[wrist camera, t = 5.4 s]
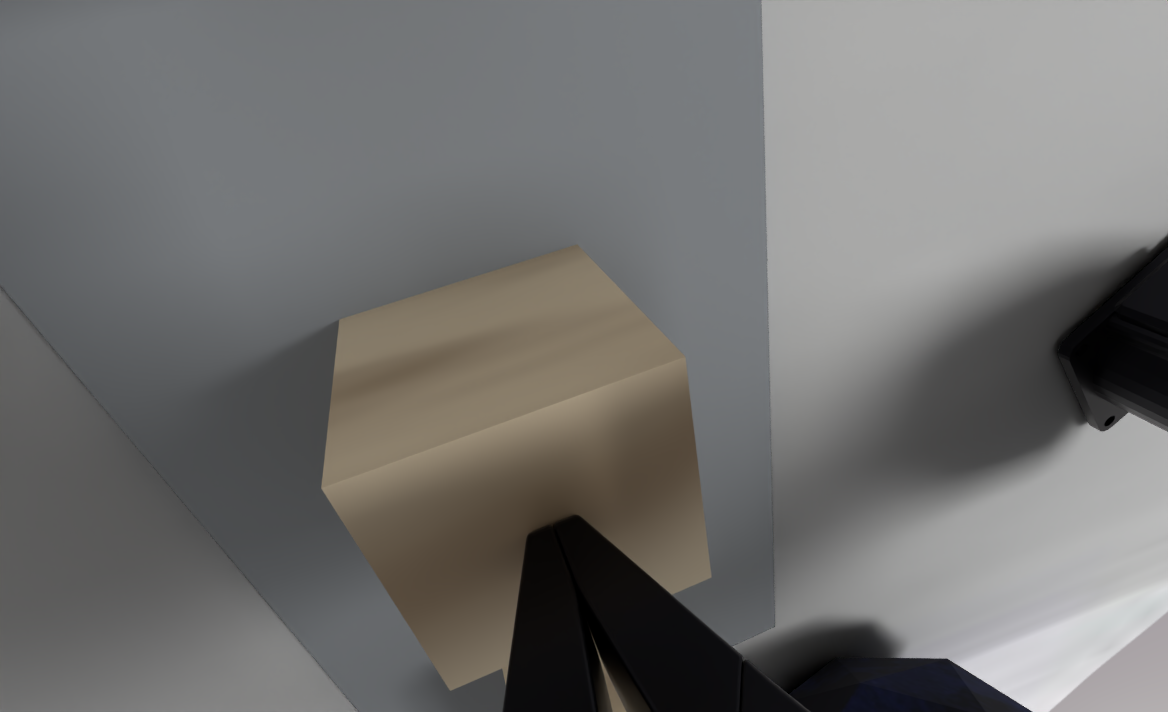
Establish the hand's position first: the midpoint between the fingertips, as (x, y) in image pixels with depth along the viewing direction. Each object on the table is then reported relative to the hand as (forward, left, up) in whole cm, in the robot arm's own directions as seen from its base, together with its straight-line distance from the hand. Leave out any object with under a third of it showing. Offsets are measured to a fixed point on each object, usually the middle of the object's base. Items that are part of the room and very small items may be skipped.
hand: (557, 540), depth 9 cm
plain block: (0, 0, -5) cm, 5 cm away
